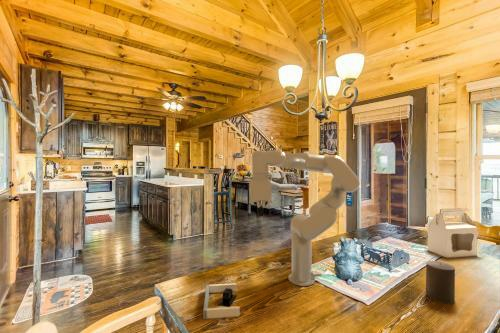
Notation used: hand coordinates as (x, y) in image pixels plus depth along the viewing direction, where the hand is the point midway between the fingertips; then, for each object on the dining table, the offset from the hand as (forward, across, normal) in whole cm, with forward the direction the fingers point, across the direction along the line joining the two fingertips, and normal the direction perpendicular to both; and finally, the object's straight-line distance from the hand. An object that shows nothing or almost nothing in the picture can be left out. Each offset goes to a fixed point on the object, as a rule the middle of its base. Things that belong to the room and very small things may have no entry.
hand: (260, 215), depth 117 cm
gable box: (+33, -126, -23) cm, 132 cm away
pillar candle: (+32, -73, +22) cm, 83 cm away
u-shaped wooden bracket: (+32, +18, +15) cm, 40 cm away
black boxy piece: (+33, +16, +13) cm, 39 cm away
